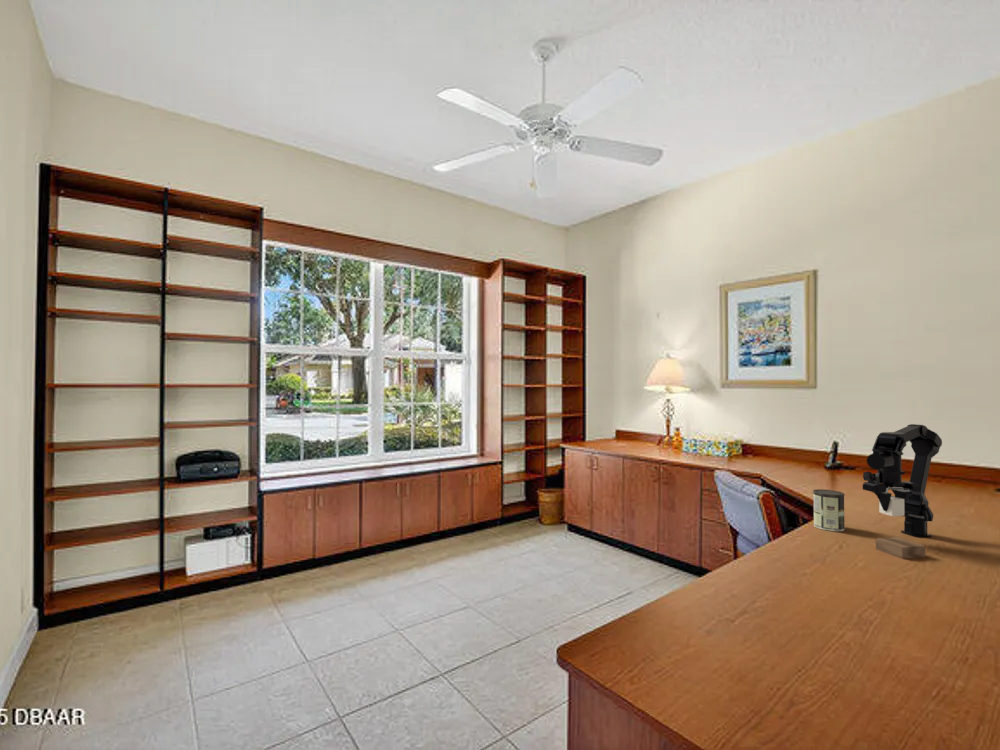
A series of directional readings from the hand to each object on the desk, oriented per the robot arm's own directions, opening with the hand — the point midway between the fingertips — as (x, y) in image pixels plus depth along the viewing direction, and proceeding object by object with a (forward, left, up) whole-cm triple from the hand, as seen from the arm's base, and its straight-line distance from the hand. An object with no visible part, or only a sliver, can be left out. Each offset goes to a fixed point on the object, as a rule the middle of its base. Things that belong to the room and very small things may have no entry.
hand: (891, 510), depth 172 cm
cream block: (0, 0, -1) cm, 1 cm away
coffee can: (+10, -17, -11) cm, 23 cm away
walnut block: (+9, +11, -11) cm, 19 cm away
